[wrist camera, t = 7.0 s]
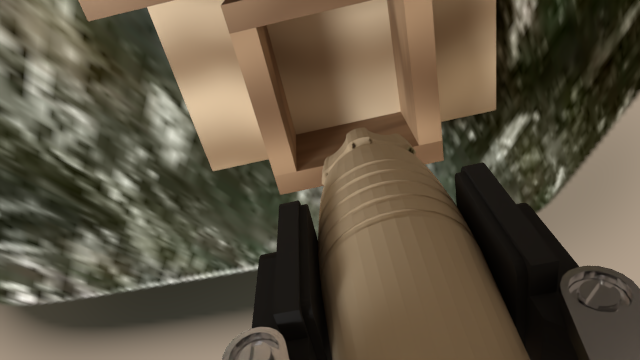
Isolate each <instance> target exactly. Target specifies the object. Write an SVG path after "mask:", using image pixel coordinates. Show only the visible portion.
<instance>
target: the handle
mask: <svg viewBox="0 0 640 360" xmlns="http://www.w3.org/2000/svg"><path fill="white" fill-rule="evenodd" d="M415 154H416V151H415V150H414V148H413V147H412V146H411V144H410V143H409V142H408V141H407V140H406V139H405V138H403V137H402V136H401V135H400V134H397V133H394V134H391V135H380V134H376V133H372V132H370V131H368V130H367V129H366V128H365V127H364V128H357V129H354V130H352V131H350V132H349V133H347V135H346V140H345V142H344V143H343V145H342V146H341V147H340V149H339V150H338V151H337V152H336V153H334V154H333V155H331V156H328V157H327V158H326V159H325V162H324V166H323V170H322V184H323V185H324V187H323V192H322V196H321V203H320V212H319V233H318V256H319V271H320V281H321V292H322V298H323V304H324V310H325V317H326V323H327V329H328V336H329V342H330V348H331V354H332V360H530V358H529V356H528V354H527V352H526V349H525V347H524V345H523V343H522V340H521V338H520V336H519V334H518V331H517V329H516V327H515V325H514V322H513V320H512V318H511V316H510V313H509V311H508V309H507V307H506V304H505V302H504V300H503V298H502V296H501V293H500V291H499V289H498V287H497V284H496V282H495V280H494V278H493V275H492V273H491V271H490V269H489V266H488V264H487V262H486V260H485V257H484V255H483V253H482V251H481V249H480V247H479V245H478V244H477V241H476V239H475V237H474V236H473V234H472V232H471V230H470V229H469V227H468V225H467V223H466V221H465V219H464V218H463V216H462V214H461V213H460V211H459V209H458V208H457V206H456V205H455V203H454V201H453V200H452V199H451V197H450V196H449V194H448V193H447V192H446V190H445V189H444V187H443V186H442V185H441V183H440V182H439V181H438V179H437V178H436V177H435V176H434V175H433V173H432V172H431V171H430V170H429V169H428V168H427V167H426V166H425V165H424V163H423V162H421V161H420V160H419V159H418V158H417V157H416V156H415Z"/></svg>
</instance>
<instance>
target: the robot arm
mask: <svg viewBox="0 0 640 360" xmlns="http://www.w3.org/2000/svg"><path fill="white" fill-rule="evenodd" d="M455 185H456V201H457V208H458V209H459V211H460V213H461V214H462V216H463V218H464V219H465V221H466V223H467V225H468V227H469V229H470V230H471V232H472V234H473V236H474V237H475V239H476V241H477V244H478V245H479V247H480V249H481V251H482V253H483V255H484V257H485V260H486V262H487V264H488V266H489V269H490V271H491V273H492V275H493V278H494V280H495V282H496V284H497V287H498V289H499V291H500V293H501V296H502V298H503V300H504V302H505V304H506V307H507V309H508V311H509V313H510V316H511V318H512V320H513V322H514V325H515V327H516V329H517V331H518V334H519V336H520V338H521V340H522V343H523V345H524V347H525V349H526V352H527V354H528V356H529V358H530V360H640V289H639V288H638V286H637V285H636V284H635V283H634V282H633V281H632V280H631V279H629V278H628V277H626V276H625V275H623V274H621V273H619V272H617V271H614V270H612V269H608V268H604V267H600V266H582V267H579V266H578V265H577V263H576V262H575V261H574V260H573V258H572V257H571V256H570V255H569V253H568V252H567V251H566V250H565V249H564V247H563V246H562V245H561V244H560V242H559V241H558V240H557V239H556V238H555V236H554V235H553V234H552V233H551V231H550V230H549V229H548V228H547V226H546V225H545V224H544V223H543V222H542V220H541V219H540V218H539V217H538V215H537V214H536V213H535V212H534V210H533V209H532V208H531V207H530V206H529V205H528V204H526V203H520V204H515V202H514V201H513V200H512V198H511V197H510V196H509V195H508V193H507V192H506V191H505V189H504V188H503V187H502V185H501V184H500V183H499V182H498V180H497V179H496V178H495V176H494V175H493V174H492V172H491V171H490V170H489V169H488V167H487V166H486V165H485V164H484V163H478V164H473V165H468V166H464V167H462V169H461V172H460V173H456V174H455ZM222 360H332V354H331V348H330V342H329V336H328V329H327V323H326V317H325V310H324V304H323V298H322V292H321V281H320V271H319V256H318V240H317V236H316V232H315V229H314V225H313V222H312V218H311V214H310V211H309V207H308V205H307V204H305V205H301V204H300V202H299V201H294V202H289V203H284V204H280V205H279V220H278V238H277V252H274V253H269V254H264V255H261V256H260V259H259V266H258V276H257V285H256V294H255V304H254V313H253V322H252V329H249V330H247V331H245V332H243V333H241V334H240V335H238V336H237V337H236V338H235V339H233V341H232V342H231V343H230V344H229V345H228V347H227V348H226V350H225V352H224V354H223V358H222Z"/></svg>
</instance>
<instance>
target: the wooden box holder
mask: <svg viewBox="0 0 640 360" xmlns="http://www.w3.org/2000/svg"><path fill="white" fill-rule="evenodd" d="M78 1H79V3H80V5H81V7H82V9H83V11H84V13H85V15H86V17H87V20H88V21H92V20H96V19H100V18H104V17H108V16H112V15H116V14H120V13H124V12H128V11H133V10H137V9H141V8H145V7H147V8H148V11H149V13H150V16H151V18H152V21H153V23H154V26H155V28H156V31H157V33H158V36H159V38H160V41H161V43H162V46H163V48H164V51H165V53H166V56H167V58H168V61H169V63H170V66H171V68H172V71H173V73H174V76H175V78H176V81H177V83H178V86H179V88H180V91H181V93H182V96H183V98H184V101H185V103H186V106H187V108H188V111H189V113H190V116H191V118H192V121H193V123H194V125H195V128H196V130H197V133H198V135H199V138H200V140H201V143H202V145H203V148H204V150H205V153H206V155H207V158H208V160H209V163H210V165H211V168H212V170H213V171H216V170H220V169H225V168H230V167H234V166H239V165H244V164H248V163H253V162H257V161H262V160H267V159H269V160H270V164H271V167H272V170H273V173H274V176H275V179H276V183H277V186H278V189H279V192H280V195H281V194H286V193H291V192H296V191H301V190H305V189H310V188H315V187H320V186H324V185H323V184H322V170H323V166H324V162H325V159H326V158H327V157H328V156H331V155H333V154H334V153H336V152H337V151H338V150H339V149H340V147H341V146H342V145H343V143H344V142H345V140H346V135H347V133H349V132H350V131H352V130H354V129H357V128H364V127H365V128H366V129H367V130H368V131H370V132H372V133H376V134H380V135H391V134H394V133H397V134H400V135H401V136H402V137H403V138H405V139H406V140H407V141H408V142H409V143H410V144H411V146H412V147H413V148H414V150H415V151H416V154H415V156H416V157H417V158H418V159H419V160H420V161H421V162H423V163H424V164H429V163H434V162H438V161H443V160H444V158H443V145H442V131H441V122H443V121H447V120H452V119H457V118H461V117H466V116H470V115H475V114H480V113H484V112H489V111H494V110H496V0H78Z"/></svg>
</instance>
